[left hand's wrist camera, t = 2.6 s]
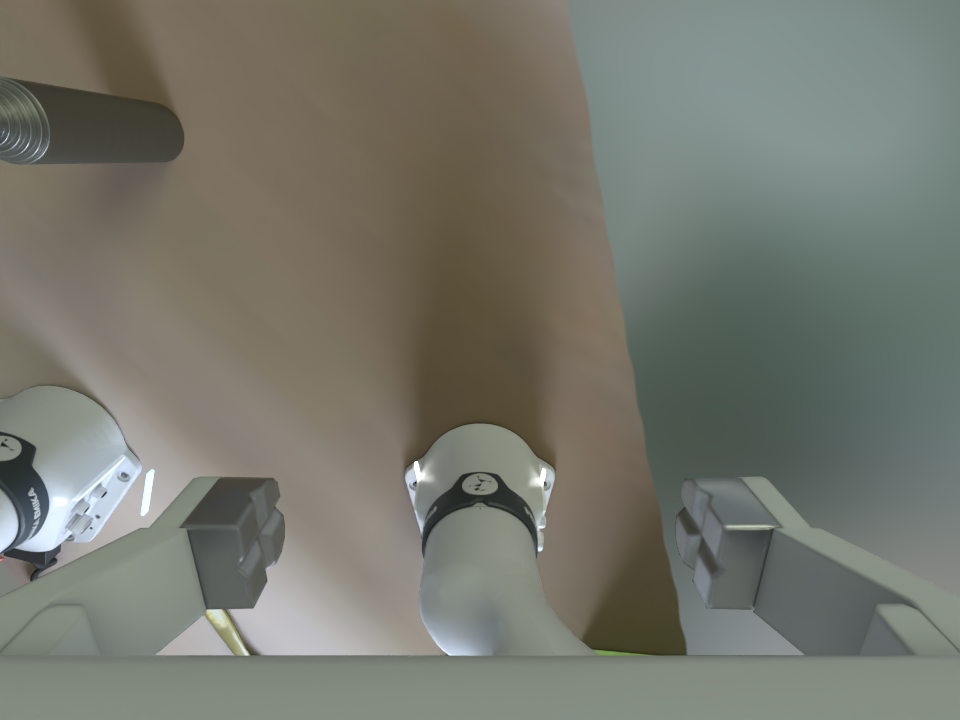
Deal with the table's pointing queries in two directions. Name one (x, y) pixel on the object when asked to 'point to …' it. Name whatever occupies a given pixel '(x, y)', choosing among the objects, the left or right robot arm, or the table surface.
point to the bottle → (82, 126)
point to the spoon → (226, 630)
